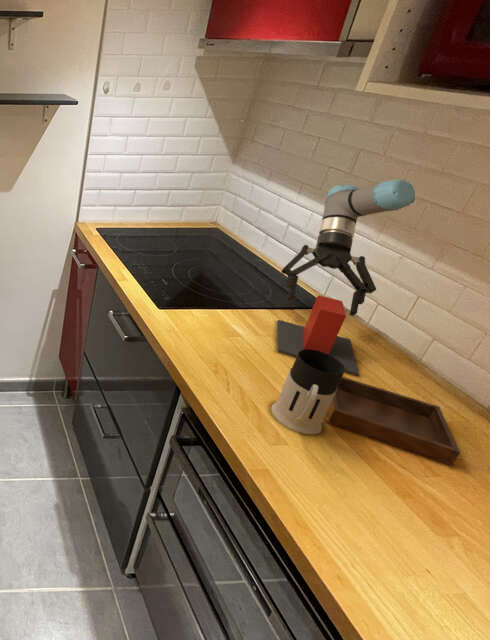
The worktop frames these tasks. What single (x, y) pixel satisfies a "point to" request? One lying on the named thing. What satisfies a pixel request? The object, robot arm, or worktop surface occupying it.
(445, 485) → the worktop surface
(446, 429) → the dark brown wooden tray
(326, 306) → the block
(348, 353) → the mat
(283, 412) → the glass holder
